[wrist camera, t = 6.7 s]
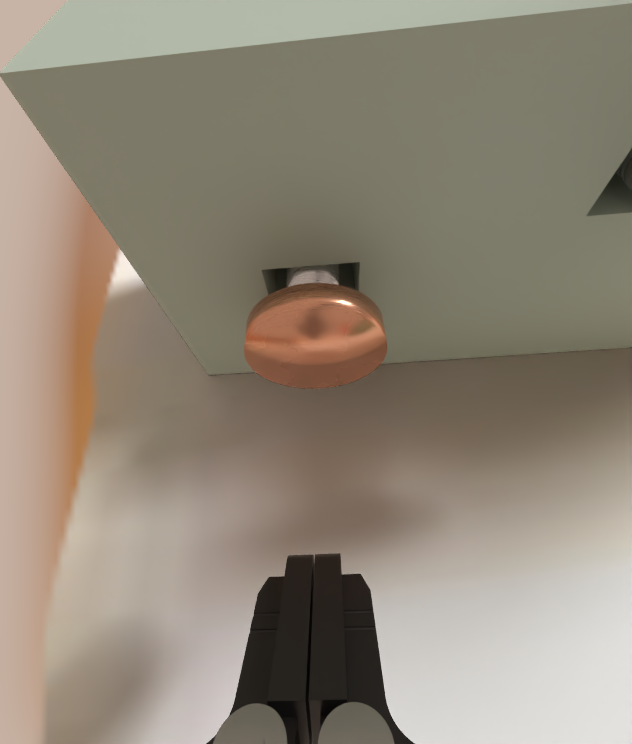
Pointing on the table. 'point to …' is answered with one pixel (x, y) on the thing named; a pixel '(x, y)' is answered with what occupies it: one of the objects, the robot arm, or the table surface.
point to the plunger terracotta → (315, 331)
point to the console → (355, 160)
